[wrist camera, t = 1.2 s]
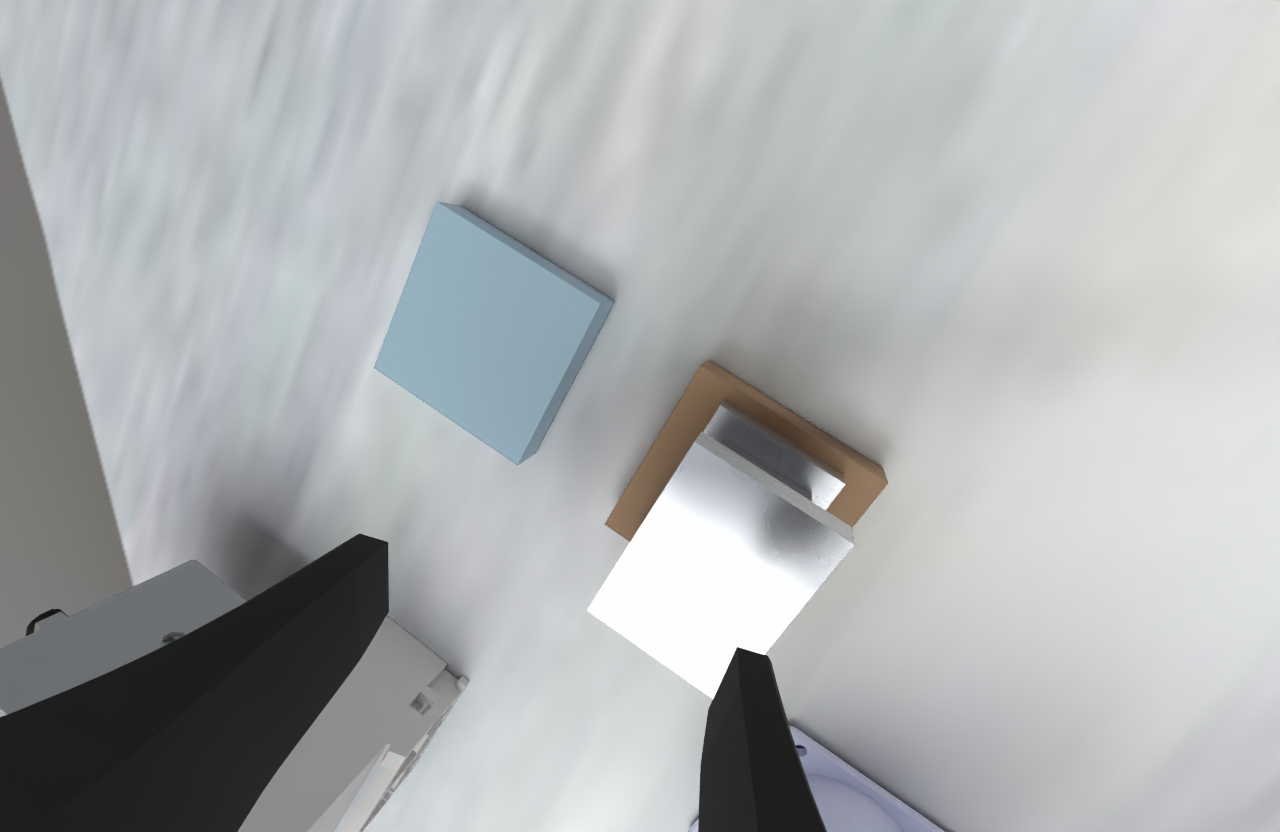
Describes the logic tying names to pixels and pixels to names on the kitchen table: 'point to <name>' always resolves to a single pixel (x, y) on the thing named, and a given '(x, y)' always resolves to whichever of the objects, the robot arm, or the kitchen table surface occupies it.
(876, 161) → the kitchen table surface
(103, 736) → the robot arm
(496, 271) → the stand
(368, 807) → the circuit breaker
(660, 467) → the stand
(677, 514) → the i-beam
